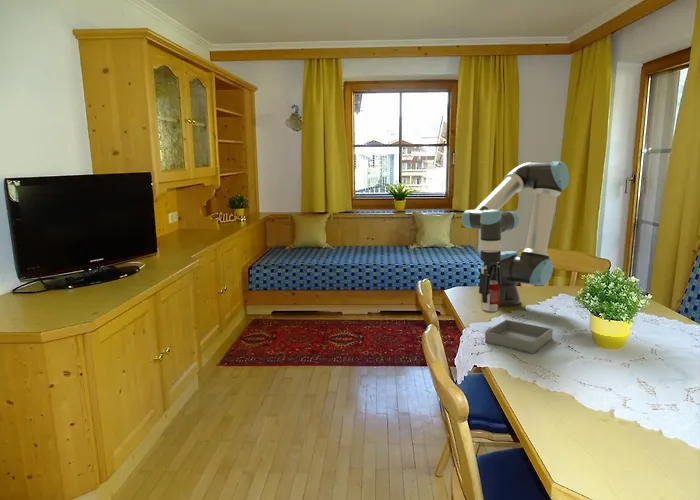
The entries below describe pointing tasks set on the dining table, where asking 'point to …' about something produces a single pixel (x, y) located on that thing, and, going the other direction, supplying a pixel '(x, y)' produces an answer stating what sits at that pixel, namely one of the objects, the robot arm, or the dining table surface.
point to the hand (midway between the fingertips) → (490, 307)
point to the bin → (519, 336)
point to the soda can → (493, 297)
